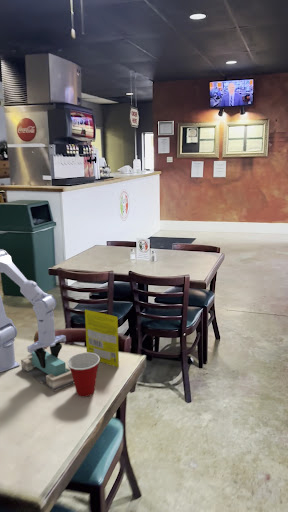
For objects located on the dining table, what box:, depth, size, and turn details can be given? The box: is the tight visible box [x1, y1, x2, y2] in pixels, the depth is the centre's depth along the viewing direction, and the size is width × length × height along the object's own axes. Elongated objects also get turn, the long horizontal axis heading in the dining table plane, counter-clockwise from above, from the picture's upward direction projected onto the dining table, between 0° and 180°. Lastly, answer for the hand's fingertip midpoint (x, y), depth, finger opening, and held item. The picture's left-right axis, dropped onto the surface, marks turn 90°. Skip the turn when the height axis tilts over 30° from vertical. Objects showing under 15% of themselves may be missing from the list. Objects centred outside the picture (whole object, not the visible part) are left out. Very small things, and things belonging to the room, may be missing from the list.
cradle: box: [20, 355, 74, 392], centre depth 158 cm, size 22×10×4 cm, turn 43°
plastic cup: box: [66, 351, 100, 398], centre depth 145 cm, size 11×11×12 cm
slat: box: [31, 350, 67, 377], centre depth 157 cm, size 16×4×5 cm, turn 43°
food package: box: [84, 309, 120, 368], centre depth 165 cm, size 15×1×20 cm, turn 58°
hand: (48, 365), depth 157 cm, fingers closed on slat, 4 cm apart
